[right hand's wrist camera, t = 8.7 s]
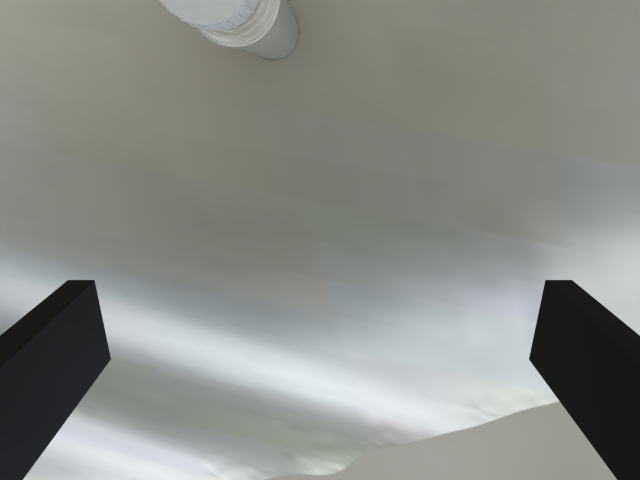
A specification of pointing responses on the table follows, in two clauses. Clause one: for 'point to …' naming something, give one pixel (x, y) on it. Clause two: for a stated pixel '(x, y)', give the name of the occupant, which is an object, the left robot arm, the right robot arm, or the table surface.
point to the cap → (211, 12)
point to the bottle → (262, 31)
